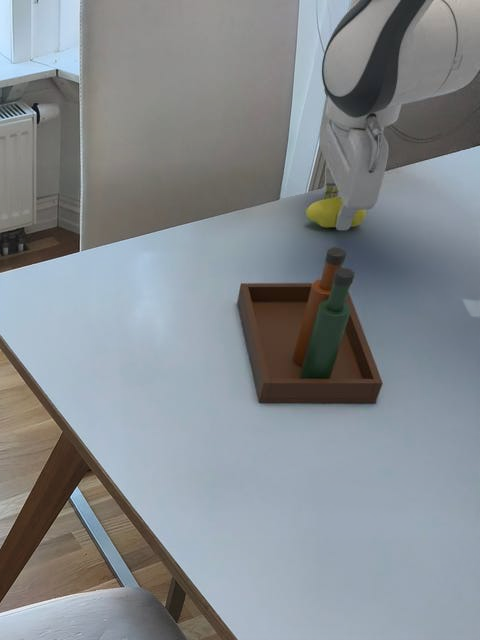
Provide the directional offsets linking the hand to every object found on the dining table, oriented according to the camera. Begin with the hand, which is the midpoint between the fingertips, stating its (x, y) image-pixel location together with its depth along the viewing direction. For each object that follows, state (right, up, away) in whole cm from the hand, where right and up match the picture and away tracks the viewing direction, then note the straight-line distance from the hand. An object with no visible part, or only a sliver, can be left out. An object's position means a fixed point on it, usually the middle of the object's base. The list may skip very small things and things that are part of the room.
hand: (335, 212), depth 120 cm
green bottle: (-11, -30, -22) cm, 38 cm away
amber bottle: (-11, -26, -19) cm, 34 cm away
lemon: (0, -1, +2) cm, 2 cm away
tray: (-10, -24, -17) cm, 31 cm away
